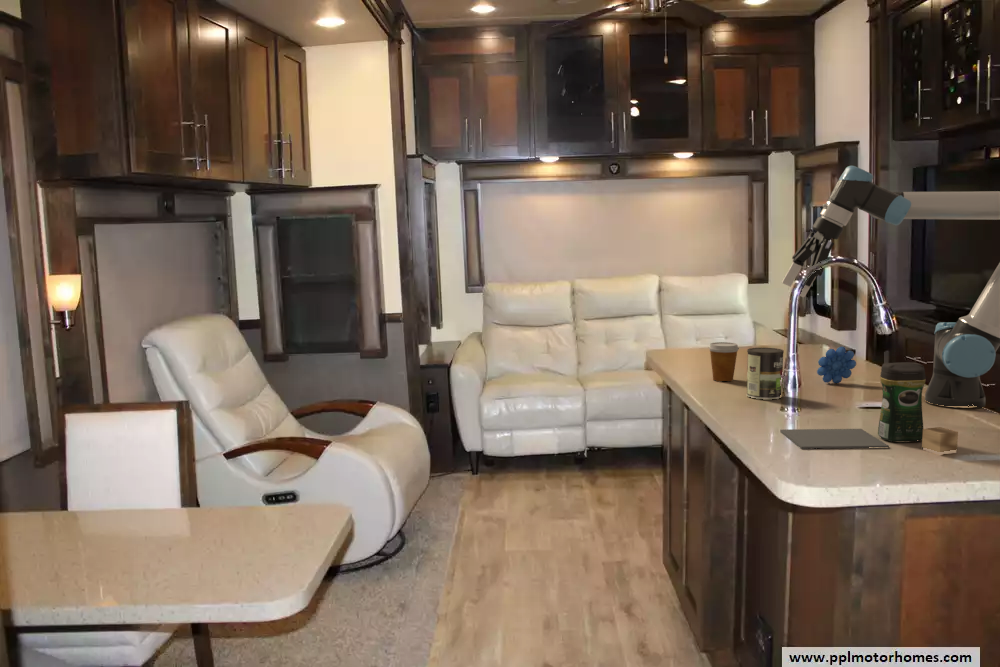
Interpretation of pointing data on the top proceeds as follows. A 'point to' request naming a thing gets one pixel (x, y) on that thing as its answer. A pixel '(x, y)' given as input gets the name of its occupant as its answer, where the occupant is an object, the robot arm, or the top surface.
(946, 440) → the oak block
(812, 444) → the mat
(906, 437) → the coffee jar
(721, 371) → the disposable coffee cup
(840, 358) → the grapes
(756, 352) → the coffee can
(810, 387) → the top surface
